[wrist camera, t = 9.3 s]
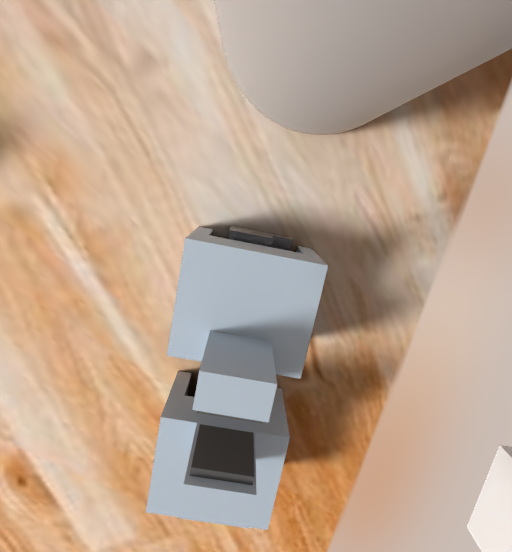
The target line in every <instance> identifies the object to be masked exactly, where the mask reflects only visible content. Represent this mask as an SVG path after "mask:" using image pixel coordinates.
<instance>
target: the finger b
mask: <svg viewBox="0 0 512 552" xmlns="http://www.w3.org/2000/svg"><path fill="white" fill-rule="evenodd" d="M212 234H213V229H209V228H204V227H198V228H197V229H196V230H194V231H193V232H192V233H191V234H190V235H189V236H187V237H186V238H185V244H184V251H183V257H182V263H181V269H180V276H179V282H178V288H177V295H176V301H175V307H174V314H173V320H172V326H171V333H170V339H169V345H168V352H167V356H172V357H178V358H184V359H189V360H195V361H201V362H202V363H201V366H200V370H199V375H198V381H197V386H196V392H195V397H194V403H193V409H192V410H196V411H197V413H201V414H207V415H213V416H219V417H225V418H231V419H237V420H243V421H249V422H255V423H261V424H262V422H268V423H269V418H270V414H271V410H272V405H273V401H274V397H275V392H276V388H277V378H276V375H282V376H287V377H293V378H299V379H301V375H302V371H303V367H304V363H305V359H306V355H307V351H308V346H309V342H310V338H311V334H312V330H313V326H314V322H315V318H316V314H317V310H318V305H319V301H320V297H321V293H322V289H323V285H324V281H325V277H326V273H327V269H328V265H327V264H326V263H325V262H324V261H323V260H322V259H321V258H320V257H319V256H318V255H317V254H316V253H315V252H314V251H313V250H312V249H311V248H307V247H301V246H297V251H296V252H293V251H288V250H283V249H277V248H272V247H267V246H262V245H257V244H252V243H246V242H241V241H236V240H231V239H226V238H221V237H216V236H212Z"/></svg>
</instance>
